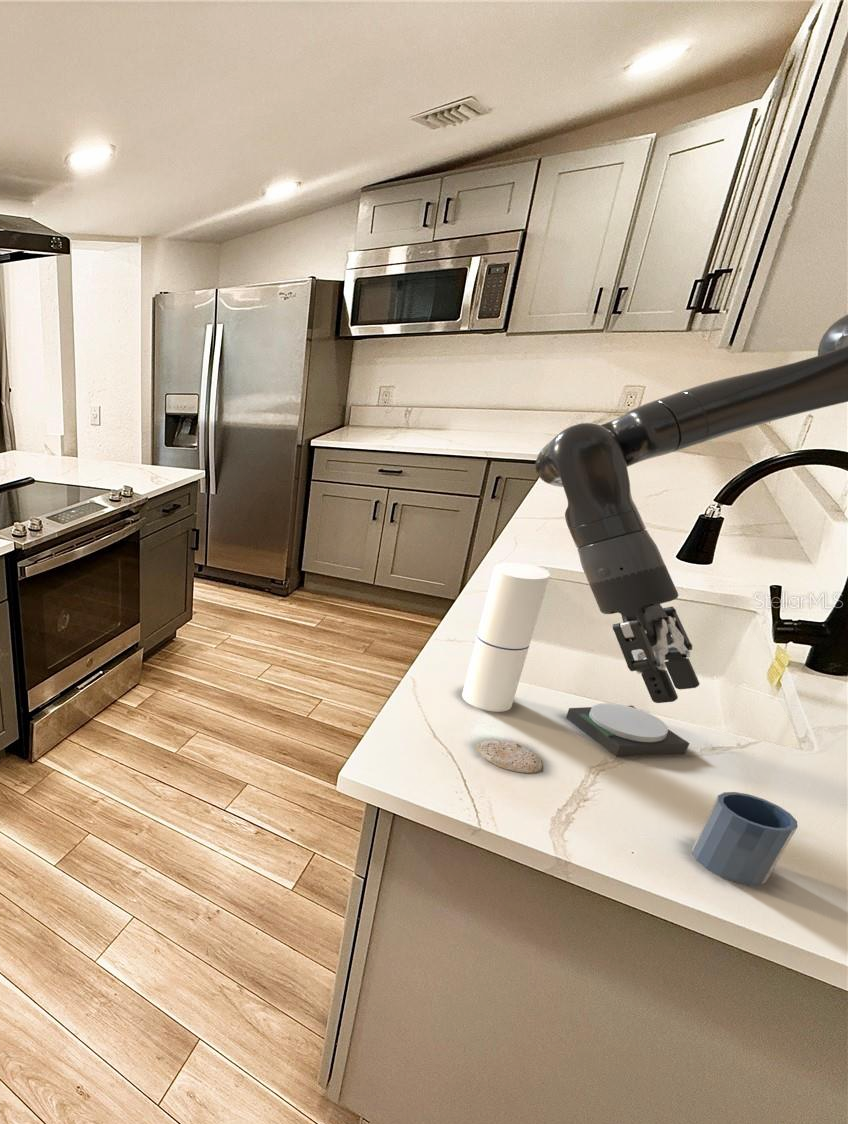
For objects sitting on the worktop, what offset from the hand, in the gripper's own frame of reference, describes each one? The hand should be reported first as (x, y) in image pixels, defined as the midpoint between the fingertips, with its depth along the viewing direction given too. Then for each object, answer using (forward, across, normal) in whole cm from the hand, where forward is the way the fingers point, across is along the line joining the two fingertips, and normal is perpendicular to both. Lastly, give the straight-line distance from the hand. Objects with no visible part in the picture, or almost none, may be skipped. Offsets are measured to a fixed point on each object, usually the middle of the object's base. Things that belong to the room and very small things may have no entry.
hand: (677, 694), depth 76 cm
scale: (+9, +19, +14) cm, 25 cm away
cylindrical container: (0, +13, +29) cm, 32 cm away
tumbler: (+21, -1, +2) cm, 21 cm away
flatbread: (+7, 0, +22) cm, 23 cm away
